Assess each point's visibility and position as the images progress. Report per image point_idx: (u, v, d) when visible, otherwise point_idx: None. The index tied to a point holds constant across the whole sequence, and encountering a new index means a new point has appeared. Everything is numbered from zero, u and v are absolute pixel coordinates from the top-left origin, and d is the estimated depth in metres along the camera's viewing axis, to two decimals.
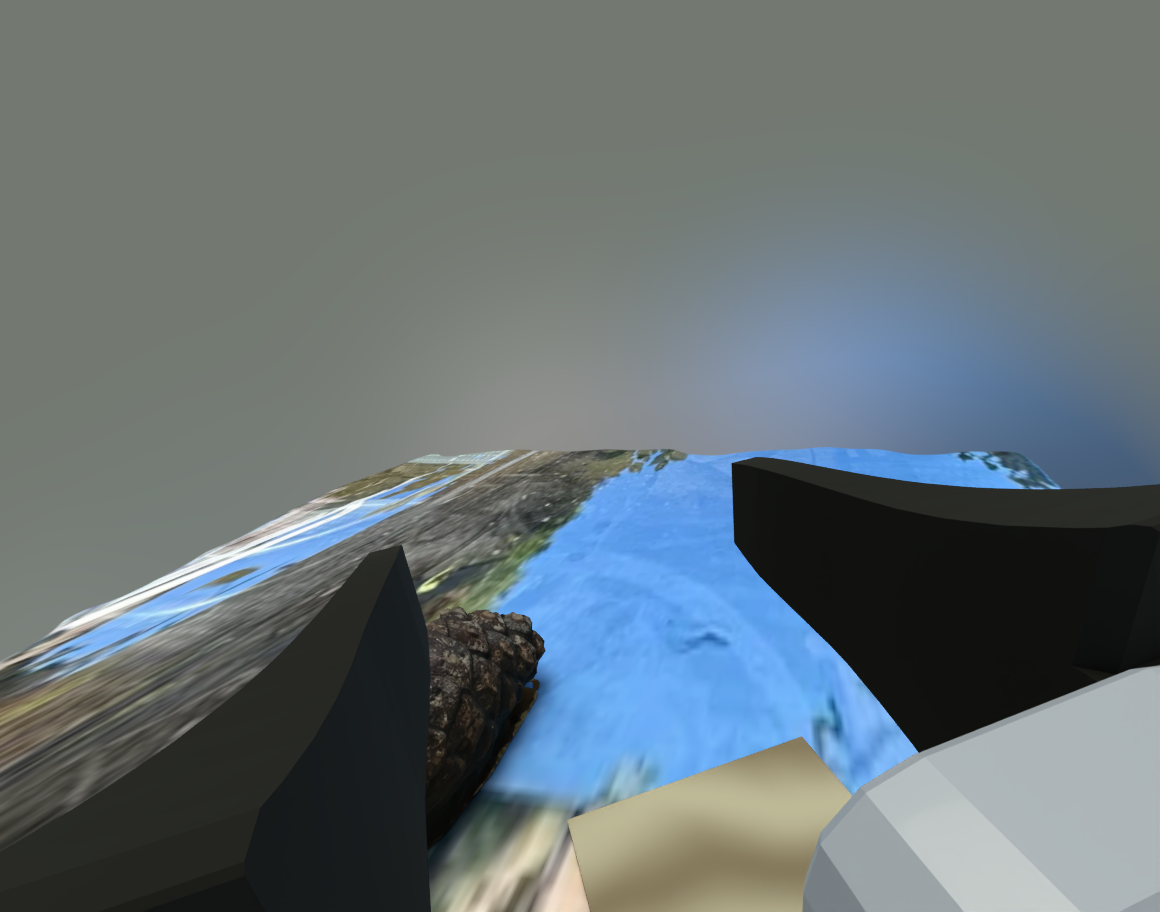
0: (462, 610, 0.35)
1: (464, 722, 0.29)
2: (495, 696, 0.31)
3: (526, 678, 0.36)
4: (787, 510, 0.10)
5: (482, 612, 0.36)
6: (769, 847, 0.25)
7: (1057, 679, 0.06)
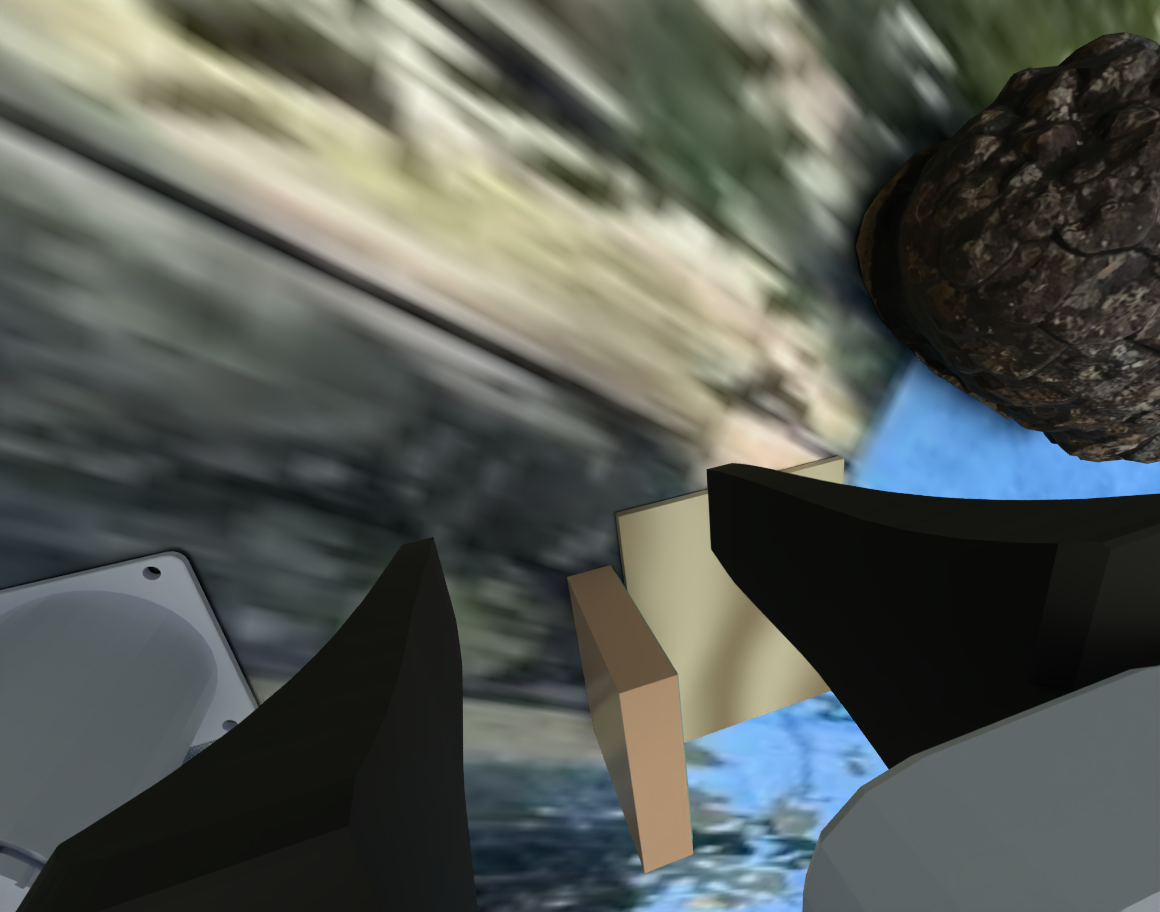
0: None
1: (1027, 391, 0.20)
2: (1045, 421, 0.21)
3: None
4: (759, 518, 0.10)
5: None
6: (752, 640, 0.27)
7: (1014, 696, 0.06)
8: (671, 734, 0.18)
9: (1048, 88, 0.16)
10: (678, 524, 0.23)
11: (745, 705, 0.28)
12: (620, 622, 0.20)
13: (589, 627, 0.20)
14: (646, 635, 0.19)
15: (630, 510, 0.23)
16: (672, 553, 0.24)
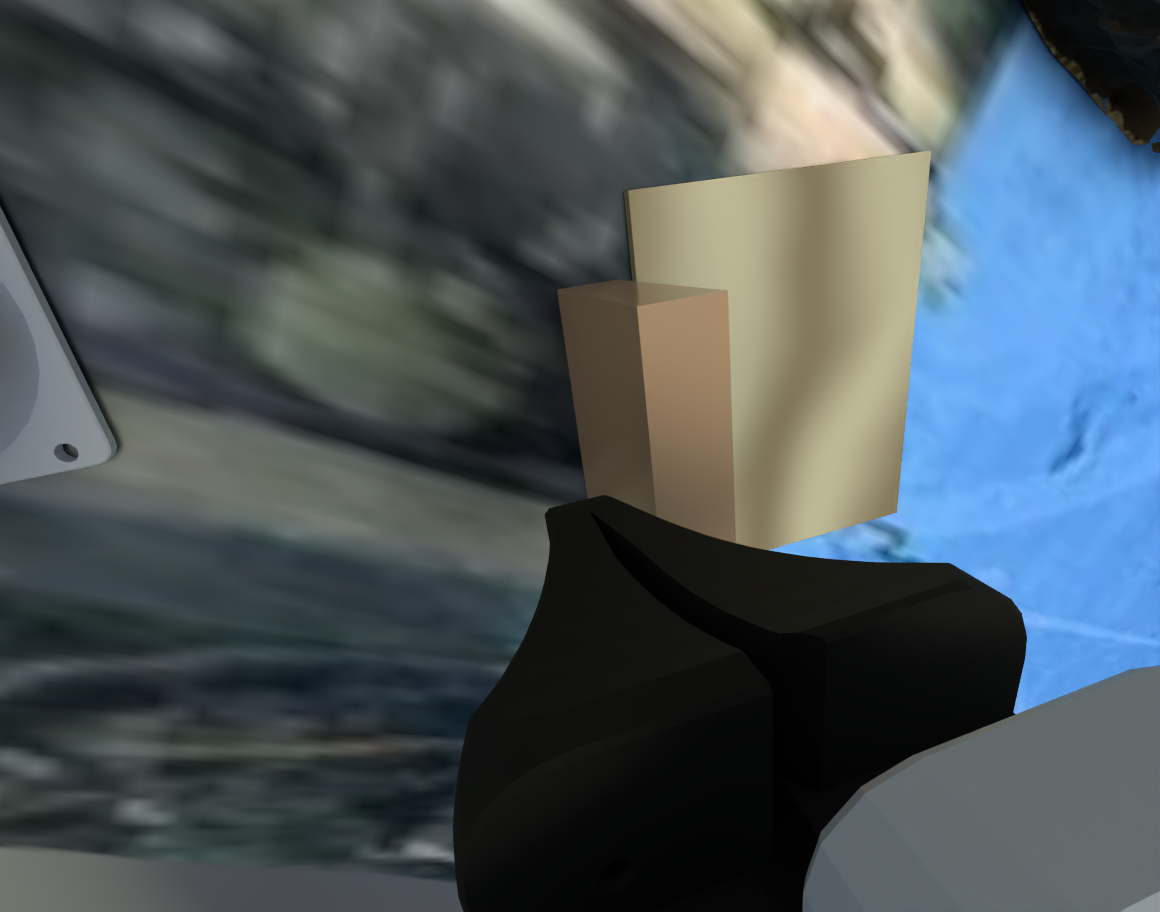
0: None
1: None
2: None
3: None
4: None
5: None
6: (802, 423, 0.21)
7: (775, 788, 0.05)
8: (715, 409, 0.12)
9: None
10: (710, 218, 0.17)
11: (789, 520, 0.22)
12: (634, 289, 0.14)
13: (588, 298, 0.14)
14: (674, 287, 0.13)
15: (644, 189, 0.17)
16: (701, 265, 0.17)
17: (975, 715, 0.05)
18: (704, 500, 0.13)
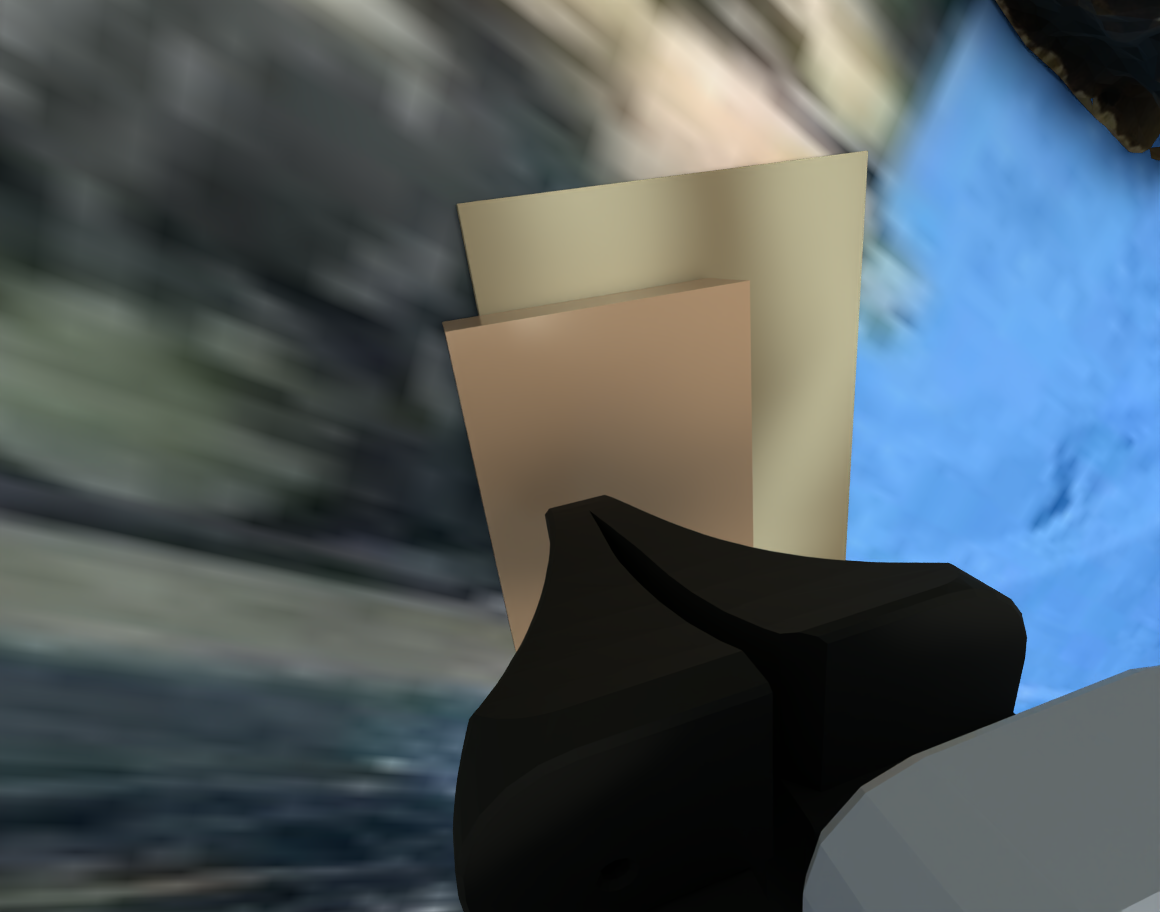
0: None
1: None
2: None
3: None
4: None
5: None
6: None
7: (774, 788, 0.05)
8: None
9: None
10: (575, 239, 0.13)
11: None
12: (605, 298, 0.13)
13: (607, 307, 0.12)
14: (636, 290, 0.14)
15: (483, 201, 0.13)
16: (568, 299, 0.14)
17: (975, 715, 0.05)
18: None
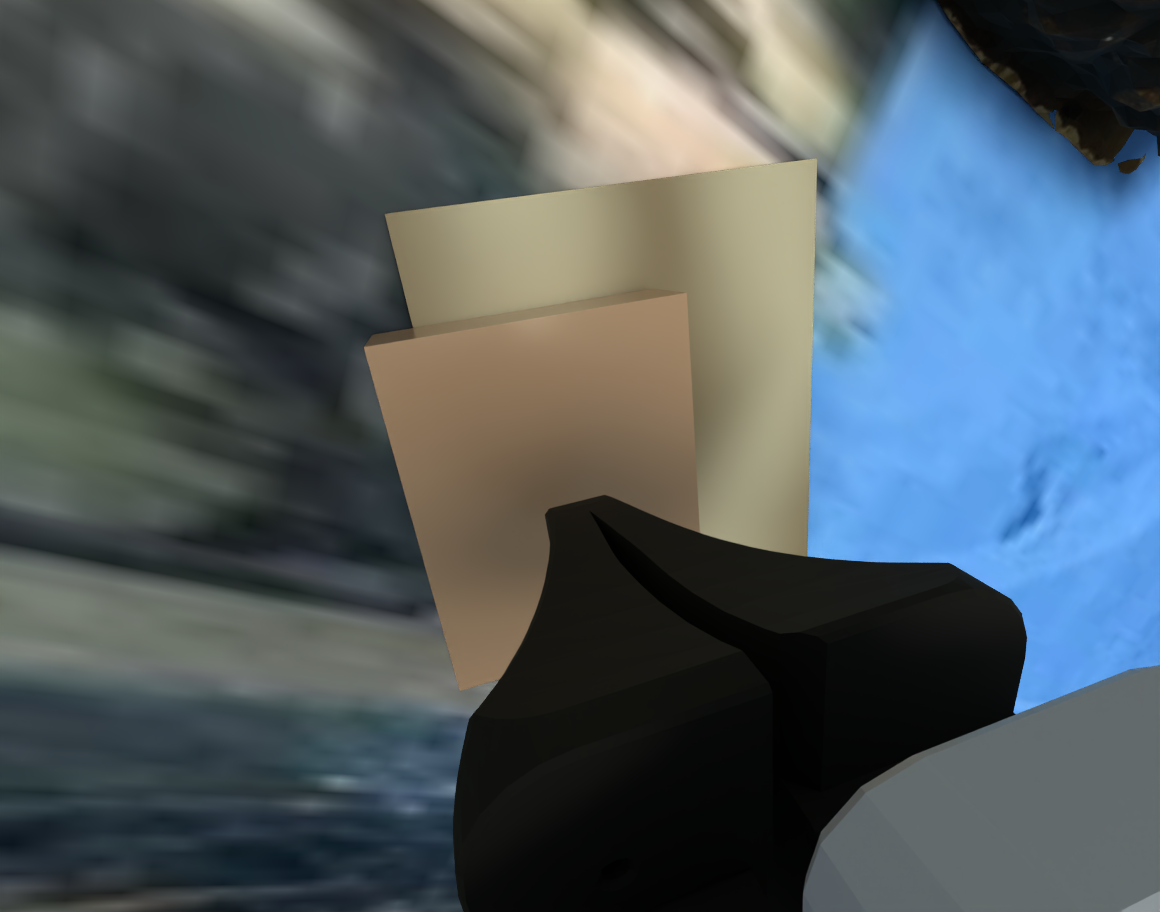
0: None
1: None
2: None
3: None
4: None
5: None
6: None
7: (774, 788, 0.05)
8: None
9: None
10: (511, 249, 0.13)
11: None
12: (540, 311, 0.13)
13: (536, 321, 0.11)
14: (576, 302, 0.13)
15: (414, 211, 0.12)
16: (506, 310, 0.13)
17: (975, 715, 0.05)
18: None
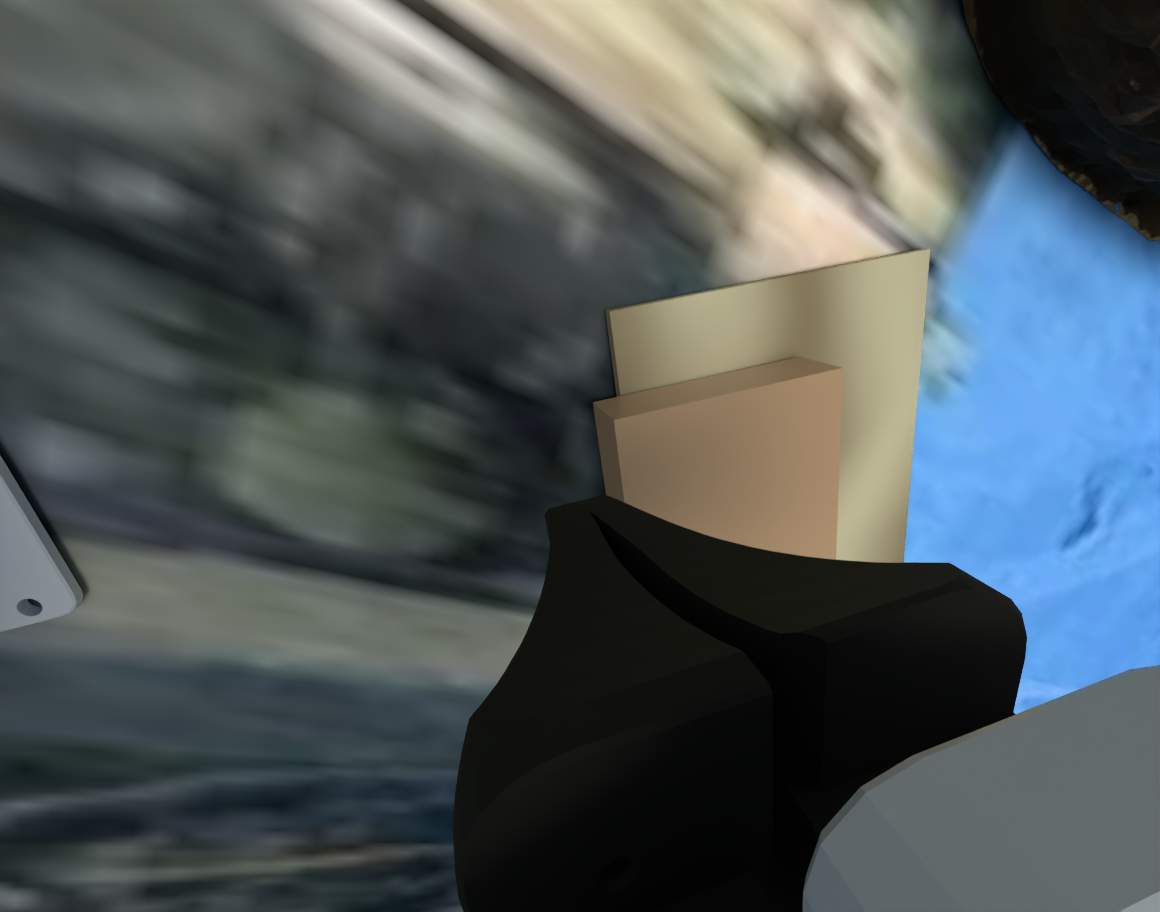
0: None
1: None
2: None
3: None
4: None
5: None
6: None
7: (774, 788, 0.05)
8: None
9: None
10: (697, 332, 0.16)
11: None
12: (723, 381, 0.16)
13: (733, 394, 0.15)
14: (744, 370, 0.17)
15: (627, 306, 0.16)
16: (688, 378, 0.17)
17: (975, 715, 0.05)
18: None
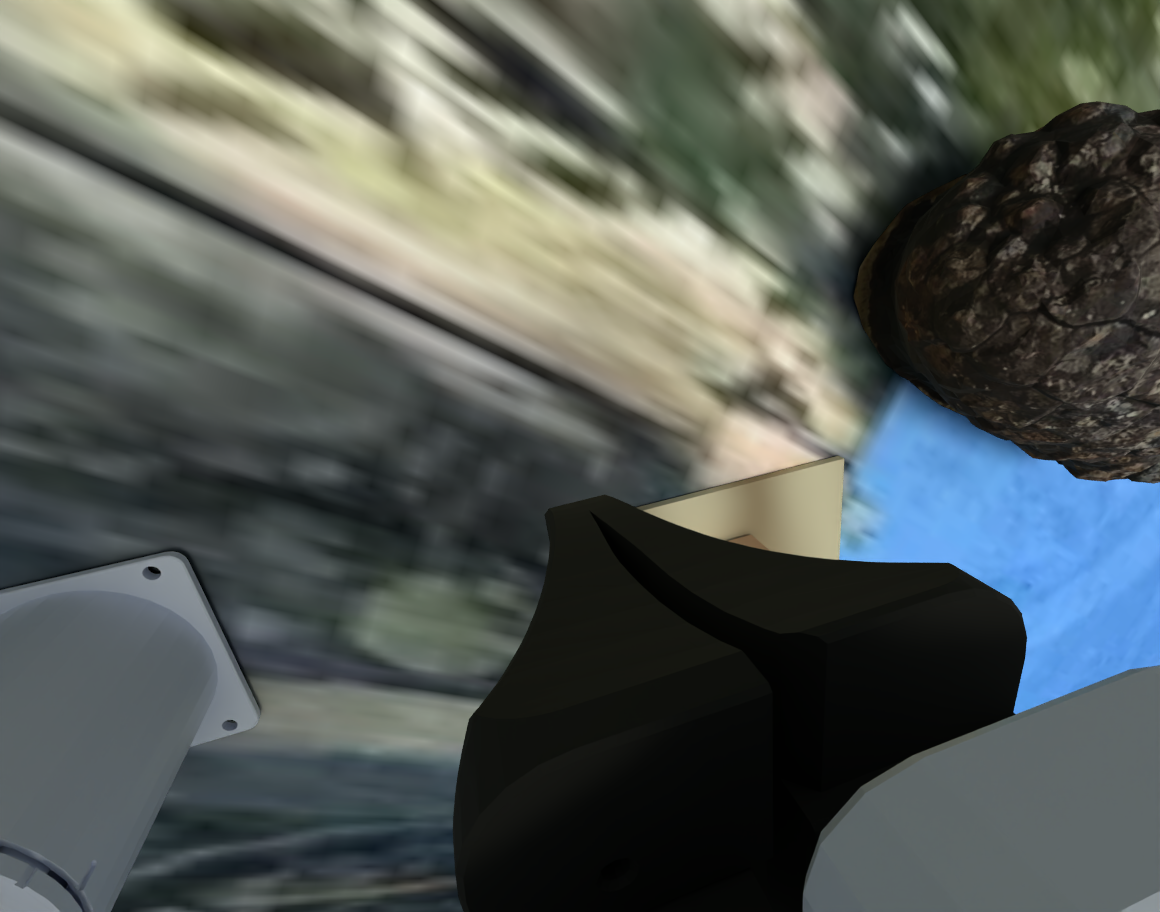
0: None
1: (1028, 433, 0.20)
2: (1048, 455, 0.22)
3: None
4: None
5: None
6: None
7: (774, 788, 0.05)
8: None
9: (1028, 160, 0.16)
10: (678, 524, 0.23)
11: None
12: None
13: None
14: None
15: None
16: None
17: (975, 715, 0.05)
18: None
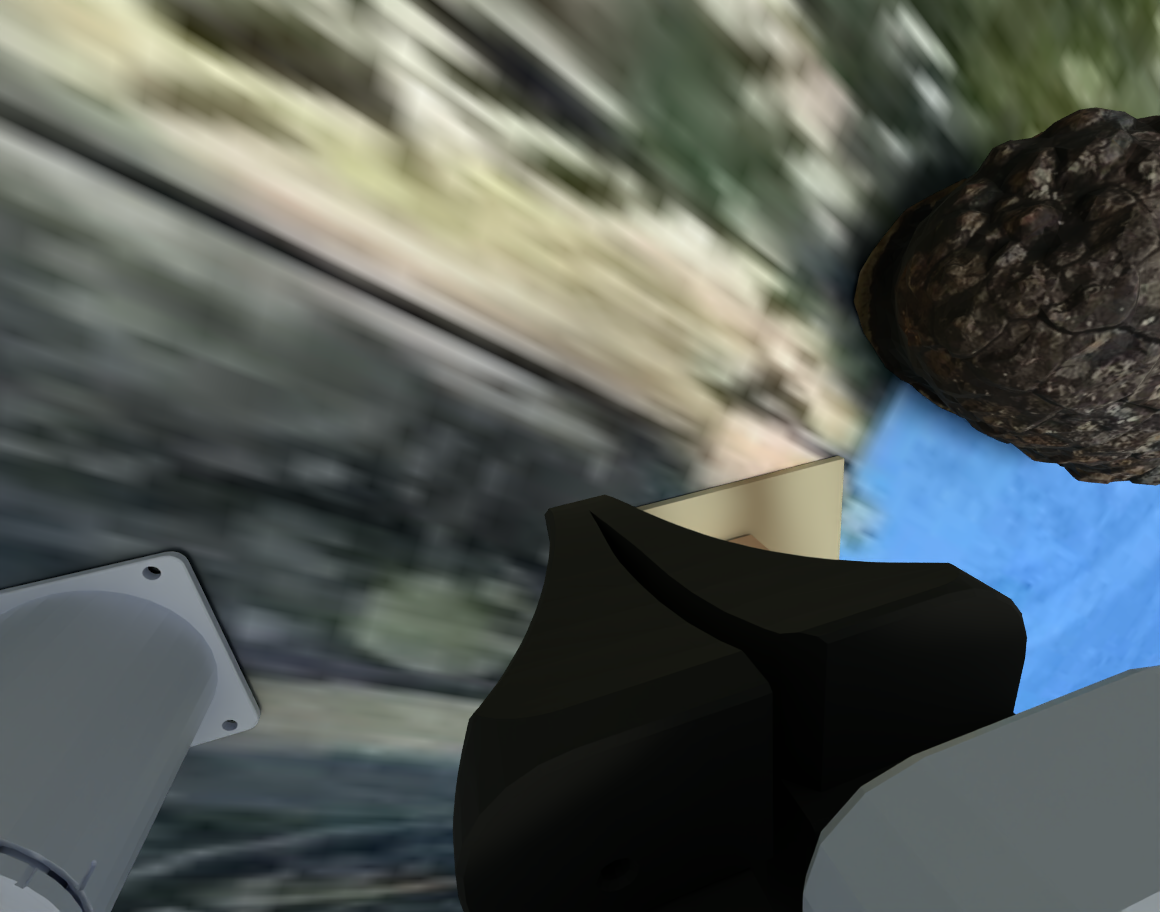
0: None
1: (1029, 437, 0.20)
2: (1049, 459, 0.22)
3: None
4: None
5: None
6: None
7: (774, 788, 0.05)
8: None
9: (1027, 167, 0.16)
10: (678, 524, 0.23)
11: None
12: None
13: None
14: None
15: None
16: None
17: (975, 715, 0.05)
18: None
